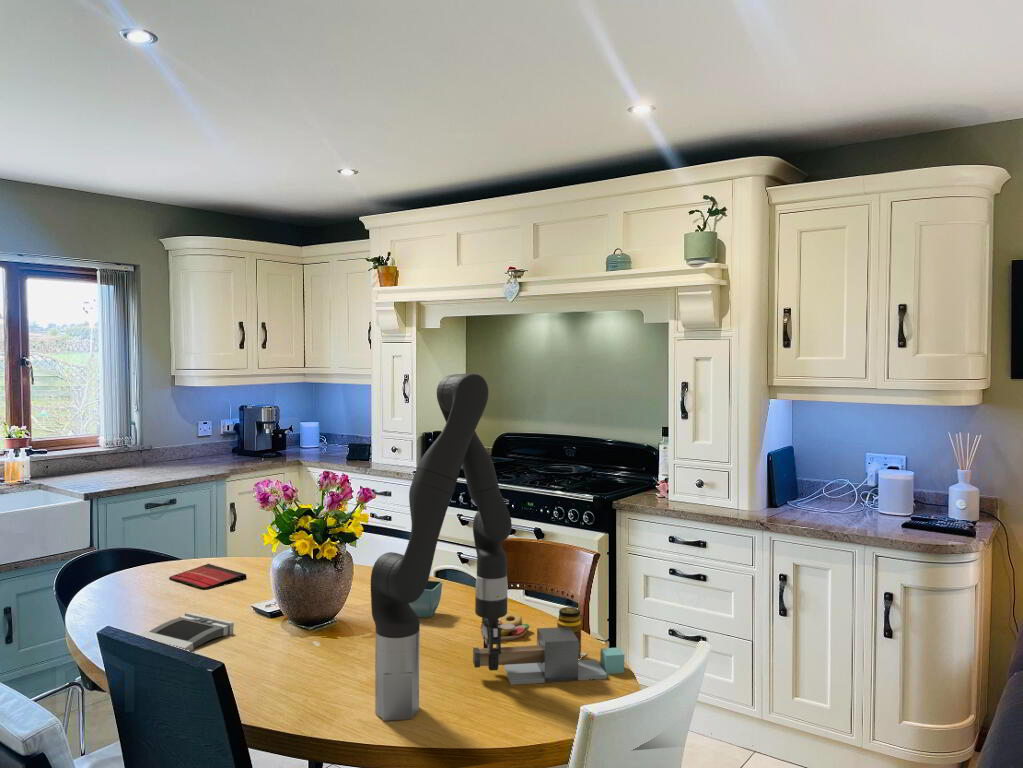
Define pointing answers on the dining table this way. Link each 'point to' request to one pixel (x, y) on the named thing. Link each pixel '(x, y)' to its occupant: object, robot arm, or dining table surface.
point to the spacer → (612, 660)
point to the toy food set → (511, 627)
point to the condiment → (571, 623)
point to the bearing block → (558, 653)
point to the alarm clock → (190, 630)
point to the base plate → (534, 675)
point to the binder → (207, 576)
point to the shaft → (509, 655)
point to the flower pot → (428, 599)
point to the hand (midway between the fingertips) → (490, 662)
